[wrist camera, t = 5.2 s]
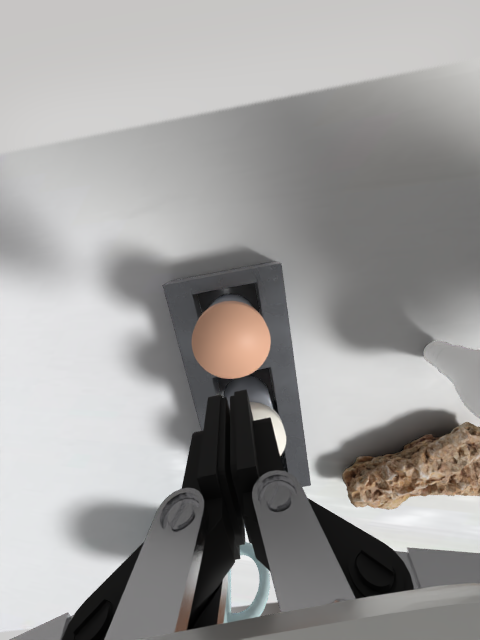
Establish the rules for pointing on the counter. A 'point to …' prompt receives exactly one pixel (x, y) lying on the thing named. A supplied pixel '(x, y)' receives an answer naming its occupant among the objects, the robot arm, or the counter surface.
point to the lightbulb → (458, 370)
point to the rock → (418, 470)
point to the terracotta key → (231, 338)
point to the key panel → (278, 361)
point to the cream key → (258, 404)
